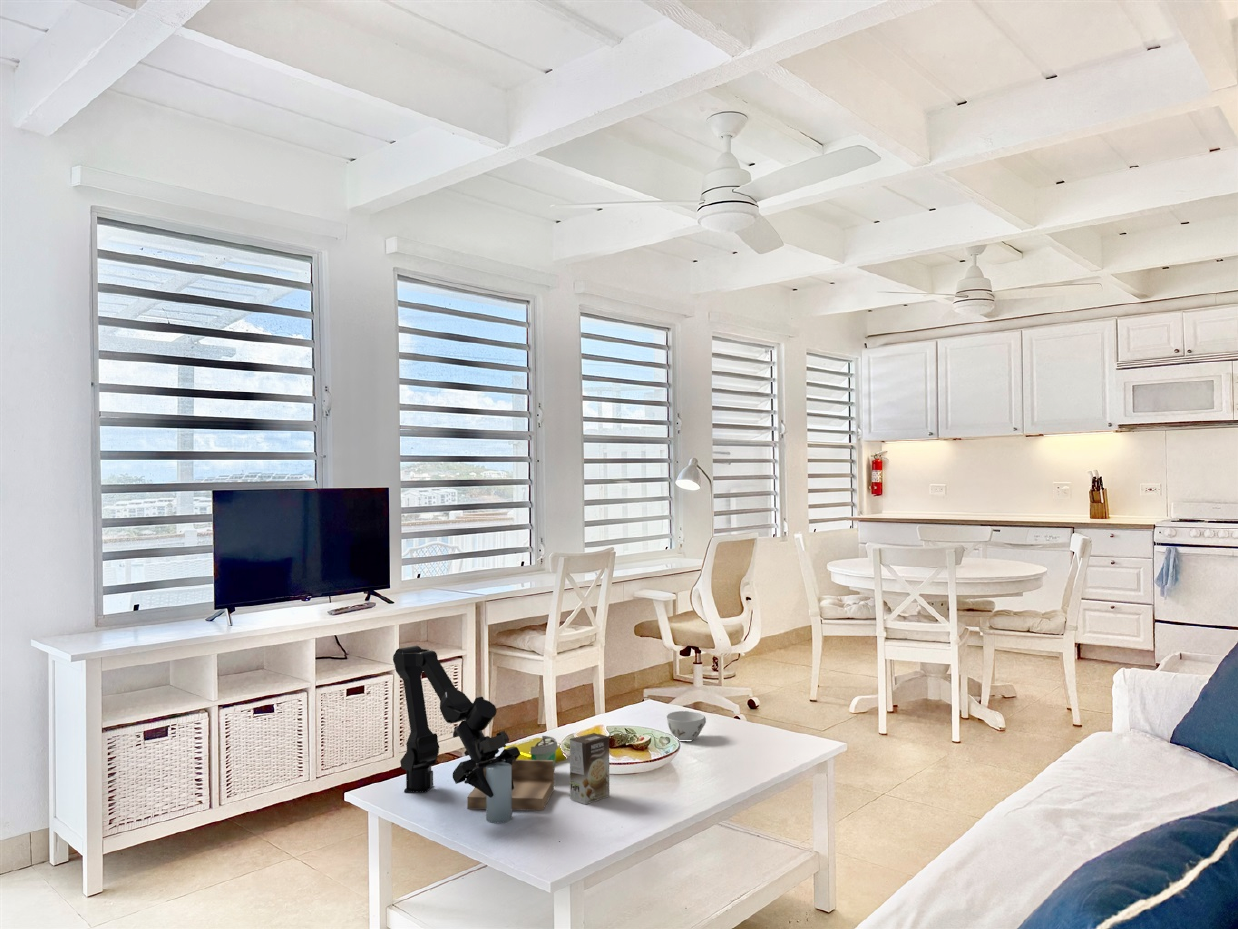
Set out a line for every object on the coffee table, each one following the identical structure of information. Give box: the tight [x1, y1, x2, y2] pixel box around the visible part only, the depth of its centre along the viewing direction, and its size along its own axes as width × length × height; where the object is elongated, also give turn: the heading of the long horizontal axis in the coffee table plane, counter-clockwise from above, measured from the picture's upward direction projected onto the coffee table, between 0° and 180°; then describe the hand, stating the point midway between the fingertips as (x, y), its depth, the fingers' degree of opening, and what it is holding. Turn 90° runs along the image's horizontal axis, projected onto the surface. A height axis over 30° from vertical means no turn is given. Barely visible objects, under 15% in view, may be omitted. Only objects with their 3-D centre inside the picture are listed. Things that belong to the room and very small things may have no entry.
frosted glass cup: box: [485, 762, 513, 824], centre depth 216 cm, size 6×6×13 cm
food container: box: [531, 735, 558, 771], centre depth 248 cm, size 12×6×10 cm, turn 168°
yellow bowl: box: [503, 737, 567, 764], centre depth 265 cm, size 15×15×5 cm
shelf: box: [466, 760, 555, 811], centre depth 230 cm, size 20×16×8 cm
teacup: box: [666, 710, 707, 741], centre depth 284 cm, size 15×12×8 cm
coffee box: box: [569, 732, 610, 805], centre depth 230 cm, size 9×6×16 cm
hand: (502, 793), depth 215 cm, fingers closed on frosted glass cup, 6 cm apart
